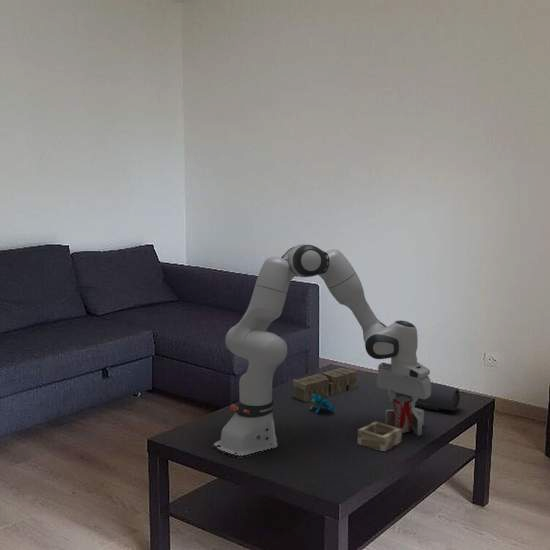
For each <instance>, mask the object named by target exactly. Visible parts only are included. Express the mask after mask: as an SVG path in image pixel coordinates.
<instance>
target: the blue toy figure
mask: <svg viewBox="0 0 550 550" xmlns="http://www.w3.org/2000/svg"><path fill="white" fill-rule="evenodd" d="M312 398H313V399H312V400H311V401H312V402H311V406H310V407H309V410H311V411H312V409H313V408H314V407H317V408H316V410H315V412H314V413H315V414H316V415H318V413H319V412H320V410H321V409H322V408H324V409H326V410H327V409H328V411H334V410H335V406H334V405H333V404H332V403H331V402H328V399H325V398H322V397H321V396H317V395H316V394H312Z"/></svg>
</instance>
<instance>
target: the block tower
mask: <svg viewBox="0 0 550 550" xmlns="http://www.w3.org/2000/svg"><path fill="white" fill-rule="evenodd" d="M357 374H358V371H357V370H355V369H351V368H349V367H348V368H343V367H339V368H336V369H332V370H328V371H323V372H322V373H316V374H312V375H309V376H306V377H301V378H299V379H292V386H293V387H295V392H294V393H295V395H294V397H295V399H297V400H300V401H303V402H305V403H312V402H311V400H312V399H313V398H312V394H316V395H317V396H321V397H322V399H325V398H328V397H329V396H334V395H337V393H338V394H341V393H344V391H345V392H347V391H351V390H355V389H356V388H357V381H358V379H357V376H358V375H357ZM354 388H355V389H354ZM340 392H341V393H340ZM333 394H334V395H333ZM327 396H328V397H327Z"/></svg>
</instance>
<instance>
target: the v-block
mask: <svg viewBox="0 0 550 550" xmlns="http://www.w3.org/2000/svg"><path fill="white" fill-rule="evenodd" d="M393 415H394V409H385V423H384V424H387V425H390V426H393ZM424 416H425V410H424V409H421V408H419V407H415V408H412V414H411V429H412V428H413V429H414V431H415V432H416V434H417V435H422V434H423V433H422V432H423V426H424V419H425V418H424ZM422 425H423V426H422ZM413 429H412V430H413ZM414 431H413V432H414ZM415 432H414V433H415ZM416 434H415V435H416ZM417 435H416V436H417Z"/></svg>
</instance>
